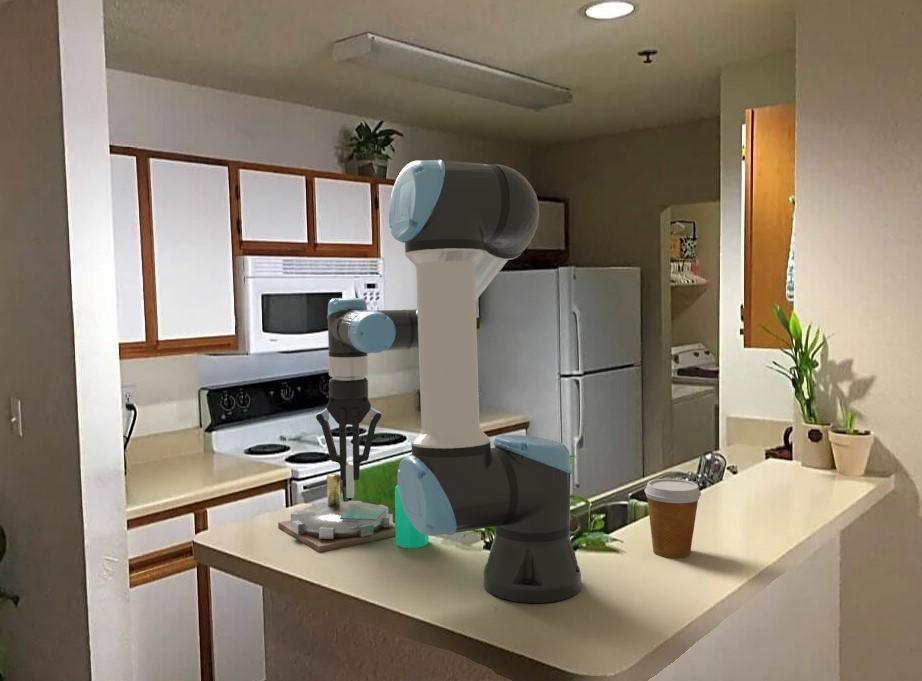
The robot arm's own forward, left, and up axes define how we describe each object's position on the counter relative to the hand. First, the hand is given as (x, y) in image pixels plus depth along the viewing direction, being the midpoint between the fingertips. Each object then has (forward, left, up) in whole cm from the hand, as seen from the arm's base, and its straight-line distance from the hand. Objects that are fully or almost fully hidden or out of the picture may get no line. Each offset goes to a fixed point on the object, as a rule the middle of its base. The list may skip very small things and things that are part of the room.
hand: (350, 495), depth 164 cm
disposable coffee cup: (-50, -37, -5) cm, 62 cm away
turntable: (-5, +4, -4) cm, 7 cm away
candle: (-19, -3, -5) cm, 20 cm away
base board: (-5, +4, -5) cm, 8 cm away
